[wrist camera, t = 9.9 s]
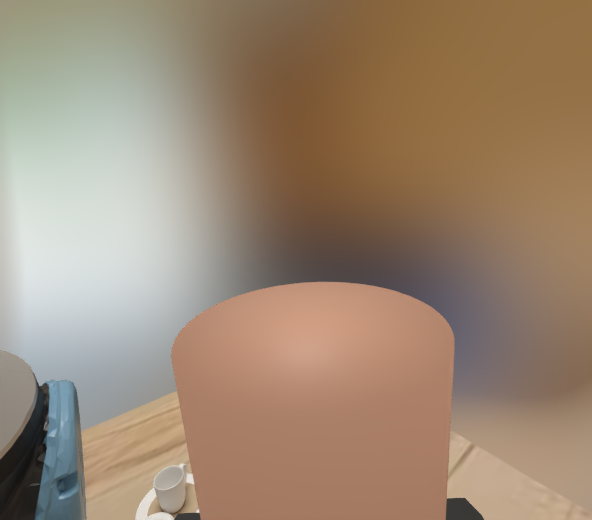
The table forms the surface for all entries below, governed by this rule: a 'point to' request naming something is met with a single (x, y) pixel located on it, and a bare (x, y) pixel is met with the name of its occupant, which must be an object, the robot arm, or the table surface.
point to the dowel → (317, 404)
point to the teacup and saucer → (166, 493)
